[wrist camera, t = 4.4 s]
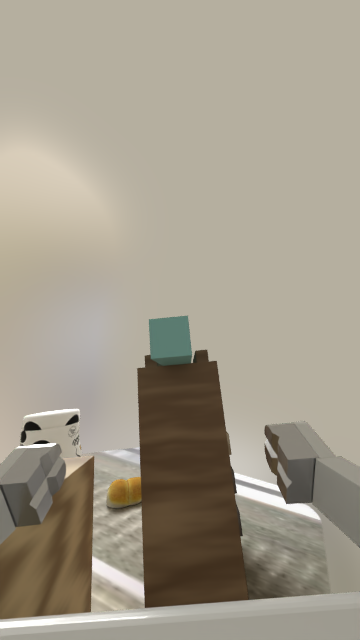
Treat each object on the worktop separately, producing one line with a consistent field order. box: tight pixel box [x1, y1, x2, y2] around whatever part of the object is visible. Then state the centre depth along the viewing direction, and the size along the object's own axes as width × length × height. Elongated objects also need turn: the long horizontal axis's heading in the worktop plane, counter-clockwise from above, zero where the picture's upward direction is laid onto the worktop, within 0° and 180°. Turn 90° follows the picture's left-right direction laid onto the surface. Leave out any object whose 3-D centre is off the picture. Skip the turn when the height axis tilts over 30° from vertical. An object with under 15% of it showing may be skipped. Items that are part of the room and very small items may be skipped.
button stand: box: [137, 350, 249, 608], centre depth 30 cm, size 14×11×28 cm
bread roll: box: [107, 477, 142, 508], centre depth 48 cm, size 8×9×4 cm
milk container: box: [20, 409, 81, 458], centre depth 64 cm, size 17×17×18 cm
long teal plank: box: [149, 316, 192, 366], centre depth 31 cm, size 26×4×4 cm, turn 178°
